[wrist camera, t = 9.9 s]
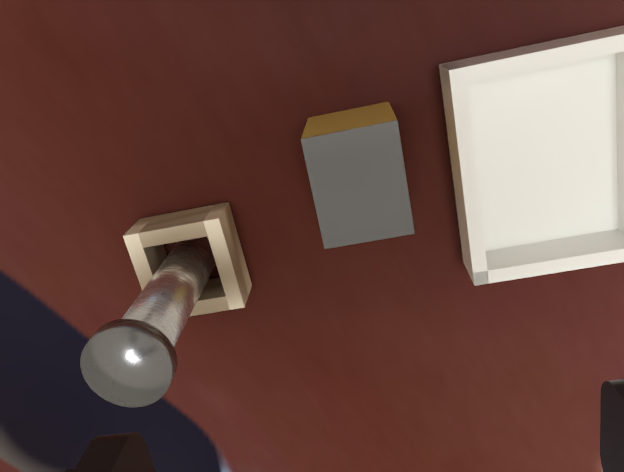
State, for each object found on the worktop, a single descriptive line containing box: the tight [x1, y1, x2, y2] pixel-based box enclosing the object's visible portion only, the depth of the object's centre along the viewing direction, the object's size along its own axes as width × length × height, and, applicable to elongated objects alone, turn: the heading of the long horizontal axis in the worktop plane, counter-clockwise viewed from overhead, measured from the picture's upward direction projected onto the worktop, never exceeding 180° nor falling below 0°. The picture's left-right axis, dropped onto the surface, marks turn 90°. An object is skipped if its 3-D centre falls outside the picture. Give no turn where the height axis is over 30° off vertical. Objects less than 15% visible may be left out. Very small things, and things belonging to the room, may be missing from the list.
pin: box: [80, 236, 216, 407], centre depth 26 cm, size 3×3×11 cm
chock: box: [301, 101, 415, 249], centre depth 26 cm, size 5×4×5 cm
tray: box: [439, 25, 624, 286], centre depth 26 cm, size 10×8×3 cm
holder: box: [123, 202, 252, 316], centre depth 29 cm, size 5×5×2 cm
